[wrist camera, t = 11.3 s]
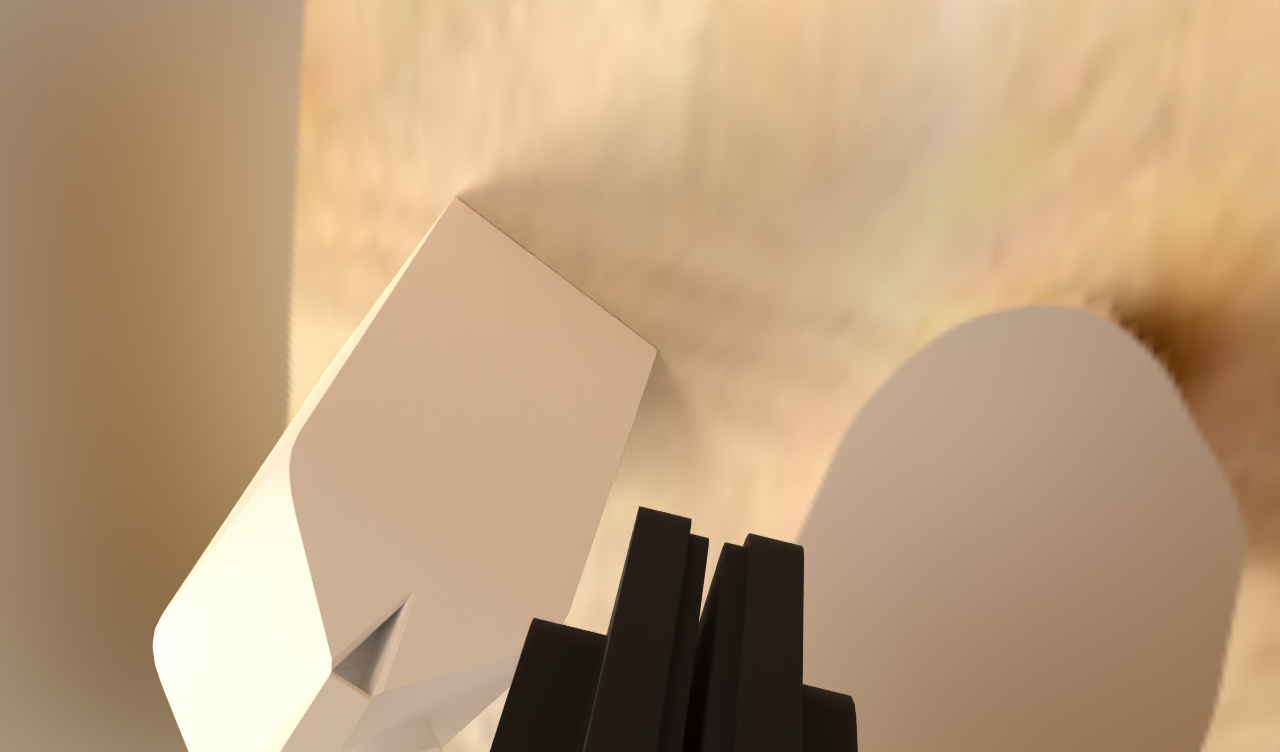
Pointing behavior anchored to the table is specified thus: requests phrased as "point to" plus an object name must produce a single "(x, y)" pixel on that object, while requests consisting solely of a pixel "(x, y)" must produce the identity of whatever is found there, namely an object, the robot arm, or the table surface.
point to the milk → (411, 512)
